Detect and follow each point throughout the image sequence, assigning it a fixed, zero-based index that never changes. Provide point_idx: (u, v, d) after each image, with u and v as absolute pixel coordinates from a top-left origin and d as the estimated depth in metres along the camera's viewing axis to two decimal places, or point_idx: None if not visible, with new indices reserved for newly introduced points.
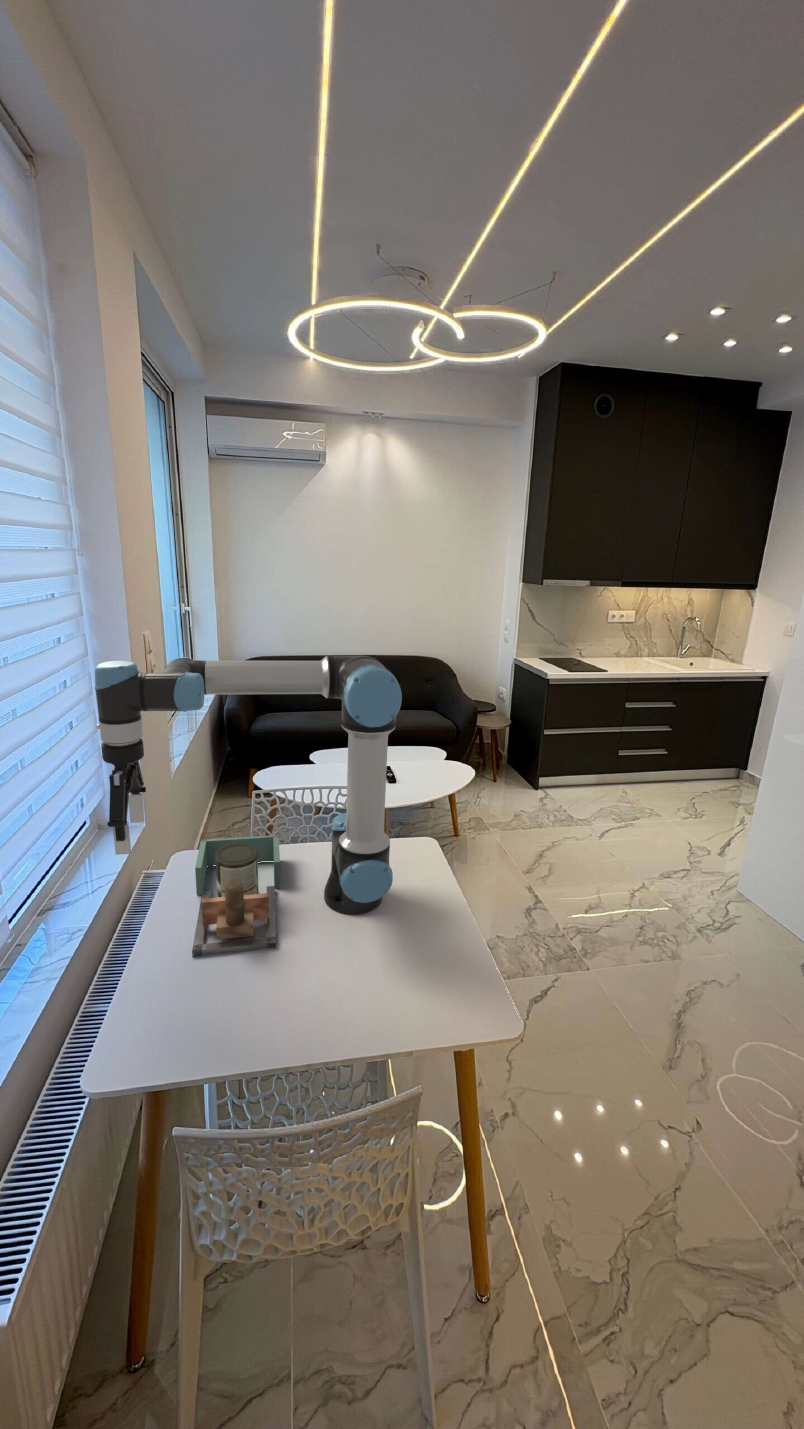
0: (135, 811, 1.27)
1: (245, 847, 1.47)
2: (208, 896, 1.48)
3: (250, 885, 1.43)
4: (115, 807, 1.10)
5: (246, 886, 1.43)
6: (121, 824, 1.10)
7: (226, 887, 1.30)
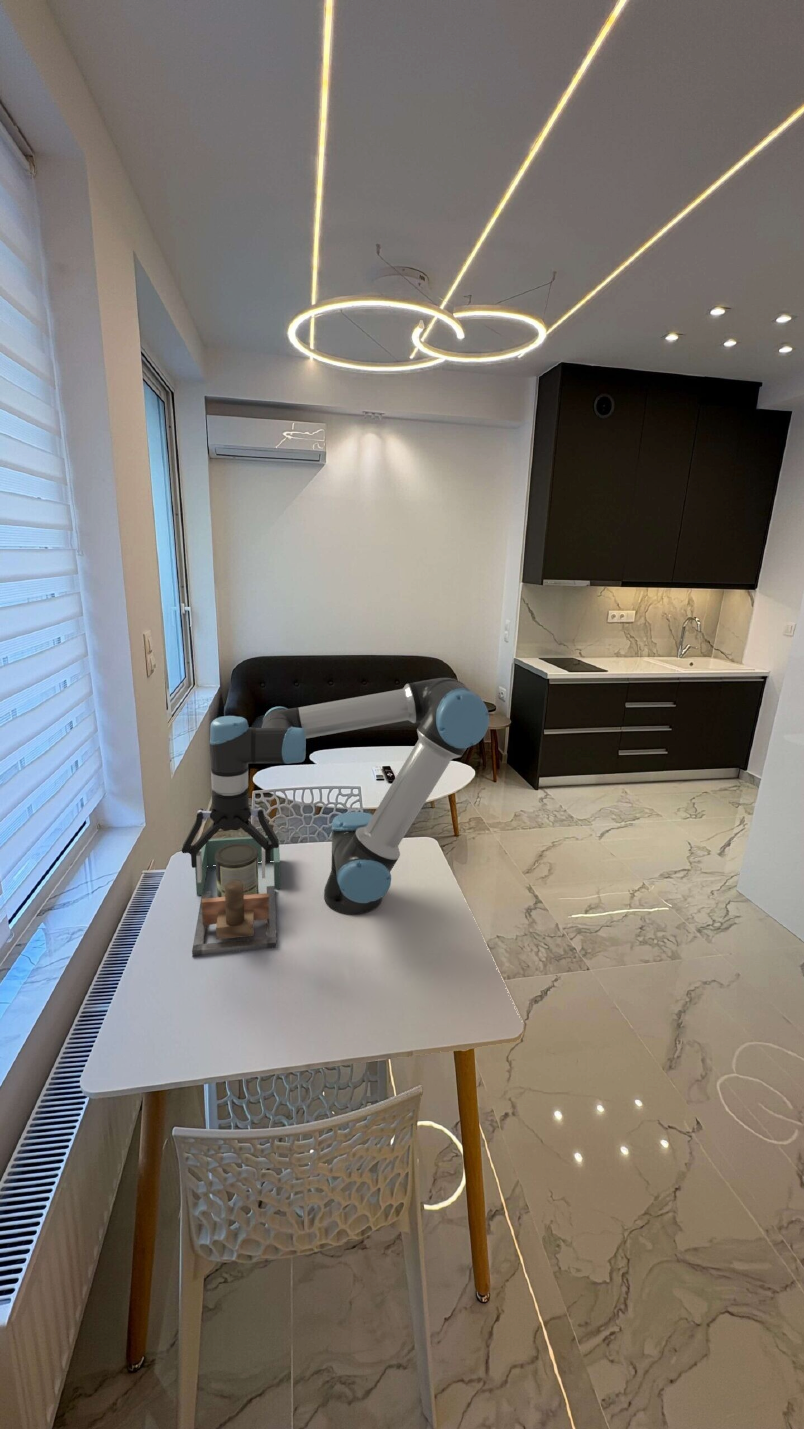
0: None
1: (245, 847, 1.47)
2: (208, 896, 1.48)
3: (250, 885, 1.43)
4: (188, 835, 1.25)
5: (246, 886, 1.43)
6: None
7: (226, 887, 1.30)
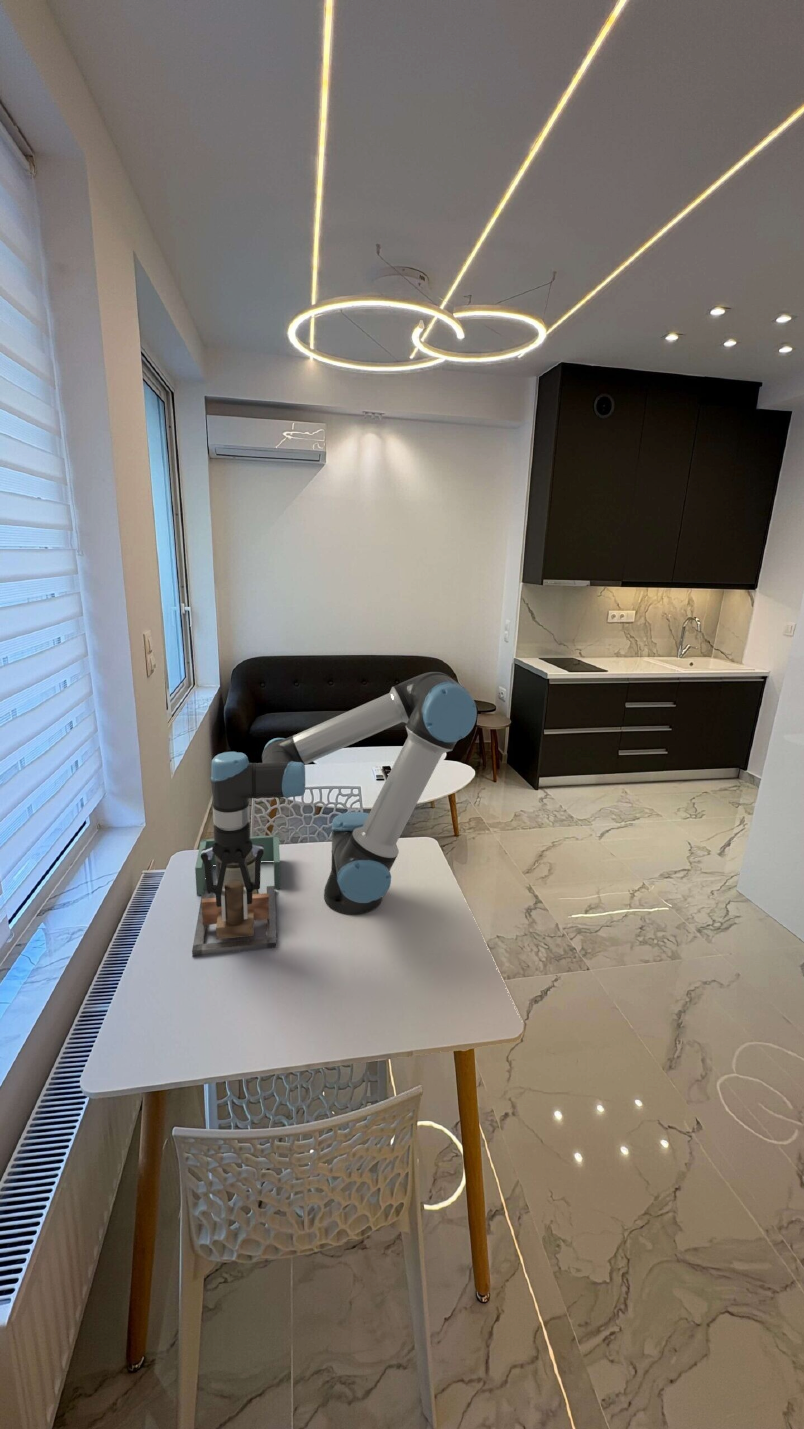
0: None
1: None
2: (208, 896, 1.48)
3: None
4: None
5: None
6: (207, 890, 1.29)
7: (226, 887, 1.30)
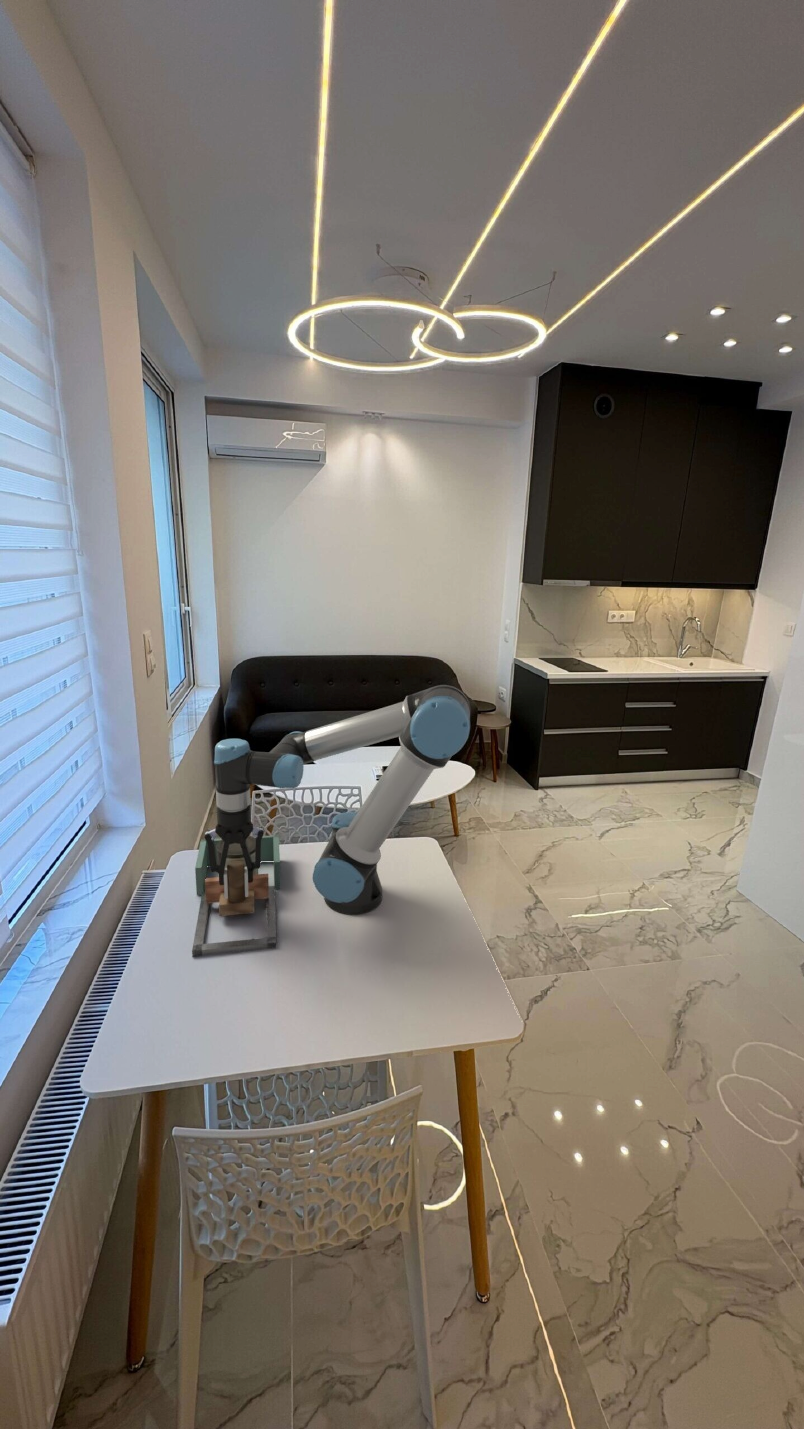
0: None
1: None
2: None
3: None
4: None
5: None
6: None
7: (228, 867, 1.38)
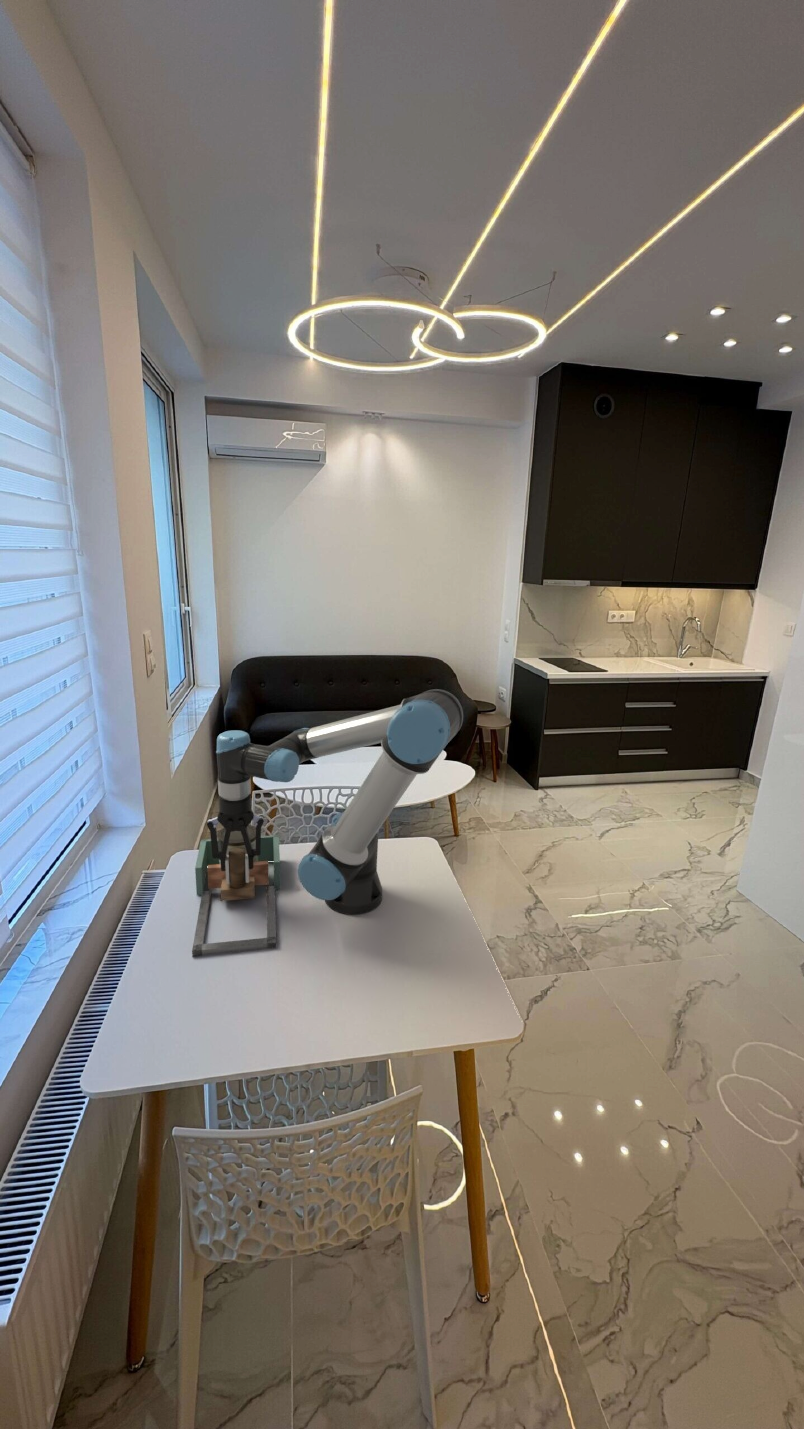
0: None
1: None
2: (208, 896, 1.48)
3: None
4: None
5: None
6: None
7: (229, 853, 1.44)
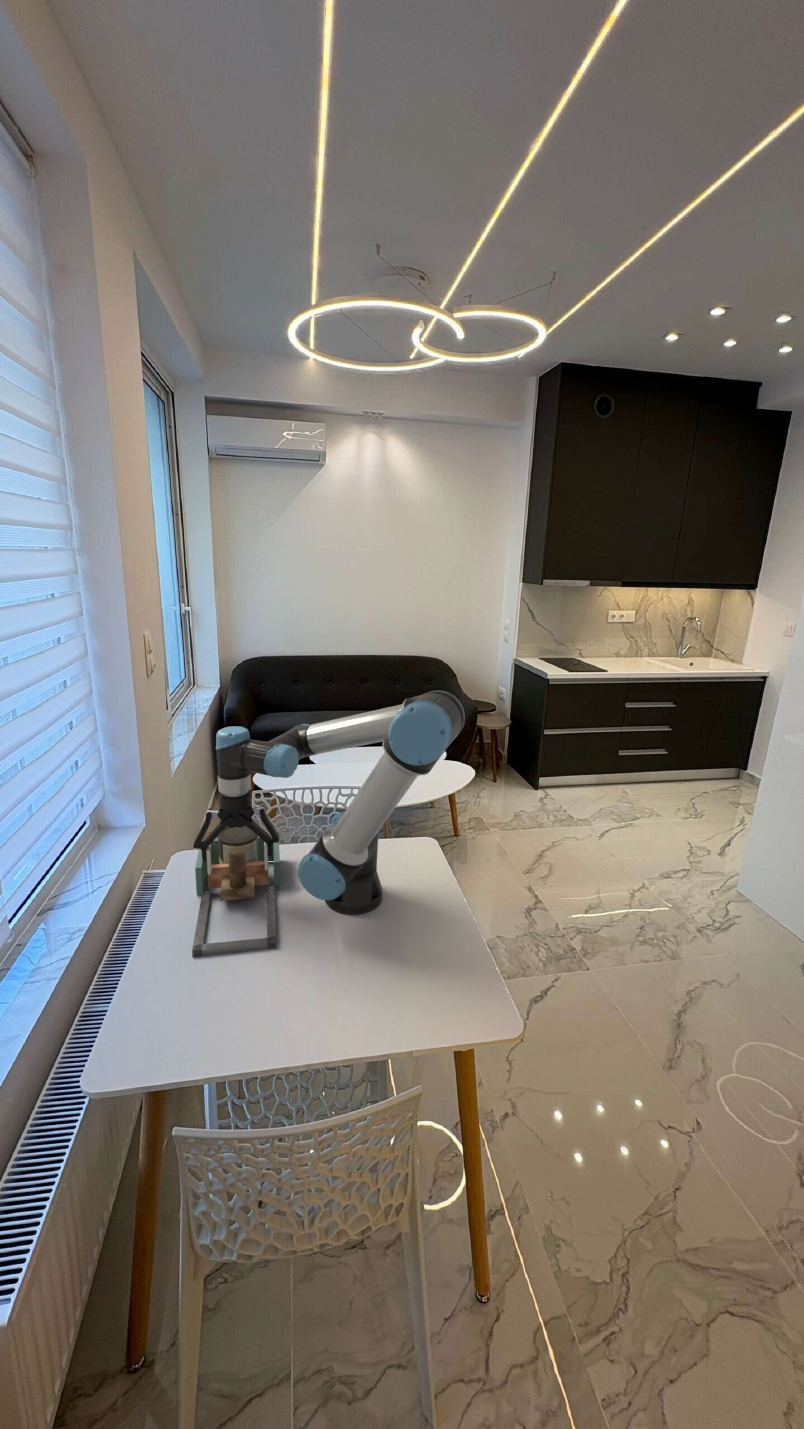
0: None
1: (245, 827, 1.57)
2: (208, 896, 1.48)
3: None
4: (199, 832, 1.41)
5: None
6: (193, 846, 1.41)
7: (229, 853, 1.44)
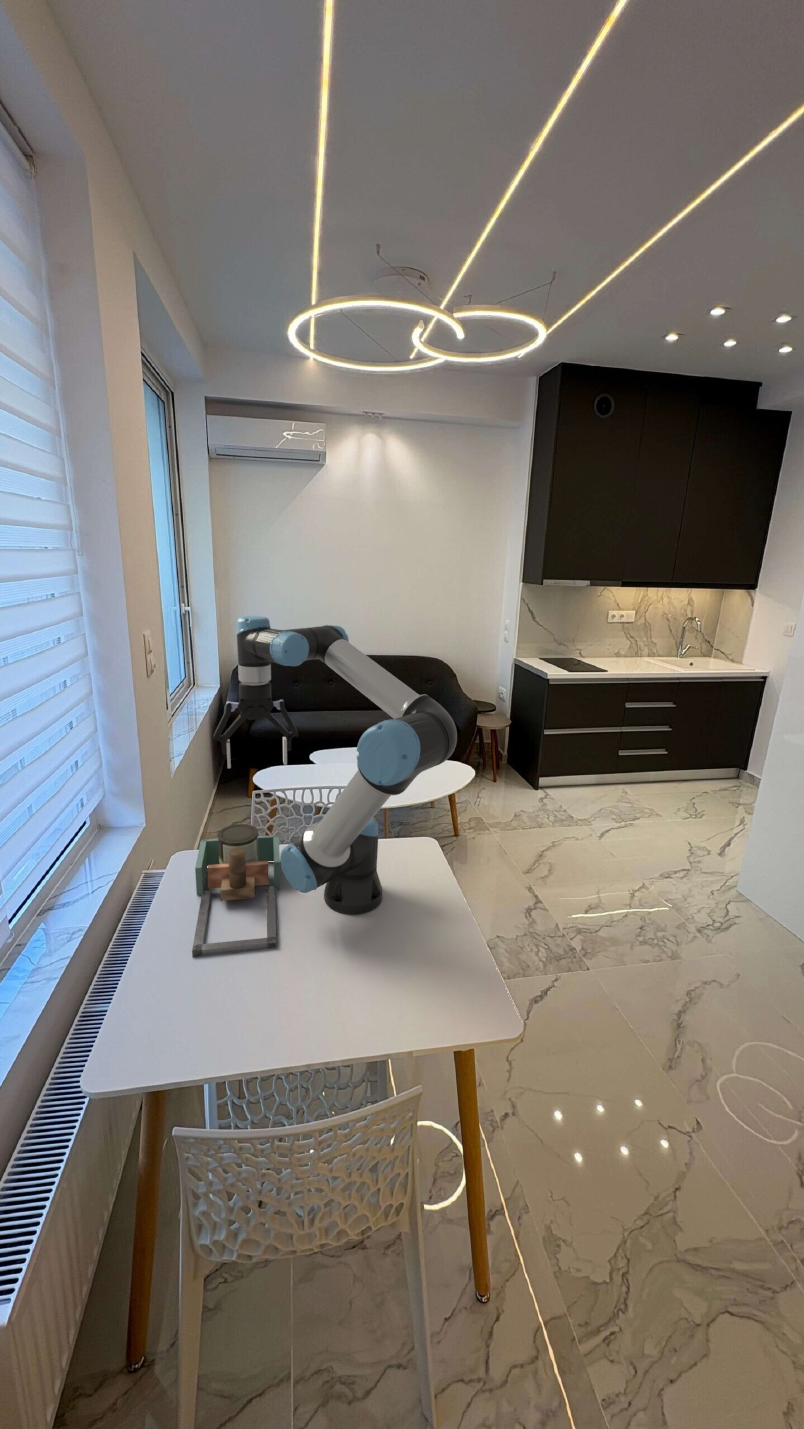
0: (283, 752, 1.47)
1: (245, 827, 1.57)
2: (208, 896, 1.48)
3: None
4: None
5: None
6: (213, 738, 1.40)
7: (229, 853, 1.44)
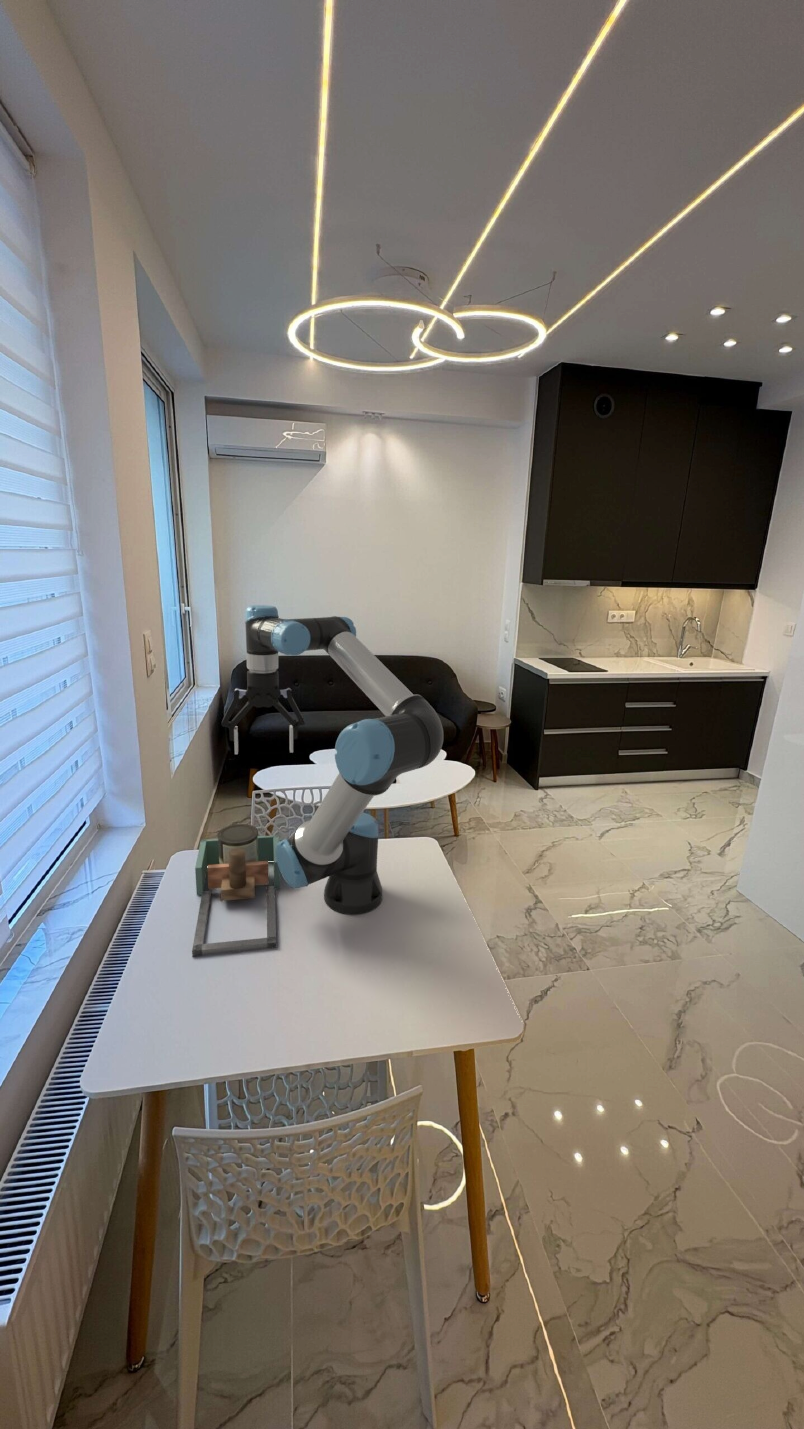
0: None
1: (245, 827, 1.57)
2: (208, 896, 1.48)
3: None
4: (227, 711, 1.44)
5: None
6: (221, 724, 1.44)
7: (229, 853, 1.44)
